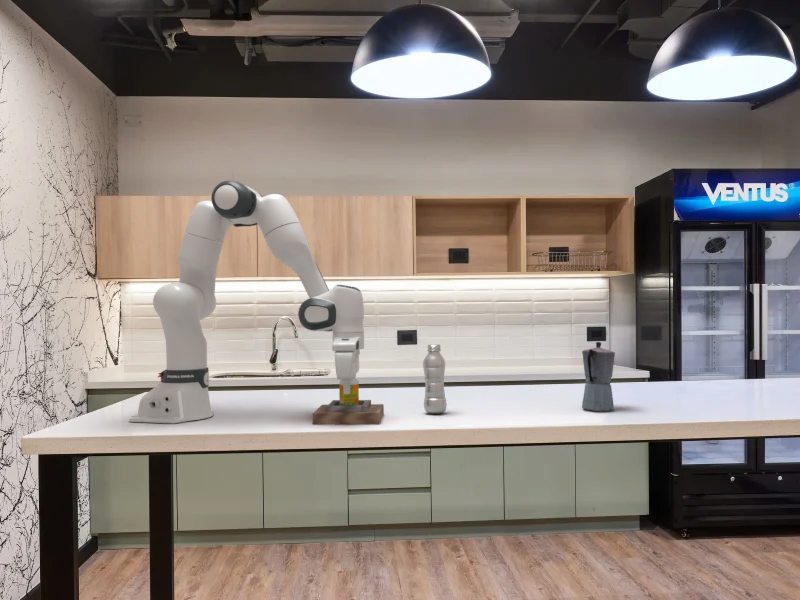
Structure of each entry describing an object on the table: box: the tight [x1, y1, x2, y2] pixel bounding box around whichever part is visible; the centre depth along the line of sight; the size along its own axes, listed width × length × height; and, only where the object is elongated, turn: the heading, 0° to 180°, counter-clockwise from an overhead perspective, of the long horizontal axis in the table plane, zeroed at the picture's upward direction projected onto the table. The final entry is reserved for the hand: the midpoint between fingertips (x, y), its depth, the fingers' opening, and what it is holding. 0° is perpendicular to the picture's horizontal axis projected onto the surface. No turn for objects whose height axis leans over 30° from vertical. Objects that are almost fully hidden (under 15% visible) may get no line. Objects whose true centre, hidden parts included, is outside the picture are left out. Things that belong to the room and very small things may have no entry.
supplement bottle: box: [338, 372, 360, 406], centre depth 158 cm, size 5×5×10 cm
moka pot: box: [581, 341, 616, 412], centre depth 167 cm, size 10×15×20 cm, turn 147°
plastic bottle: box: [422, 344, 448, 415], centre depth 165 cm, size 6×7×20 cm
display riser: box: [312, 399, 385, 425], centre depth 158 cm, size 18×14×4 cm
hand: (348, 392), depth 158 cm, fingers closed on supplement bottle, 5 cm apart
